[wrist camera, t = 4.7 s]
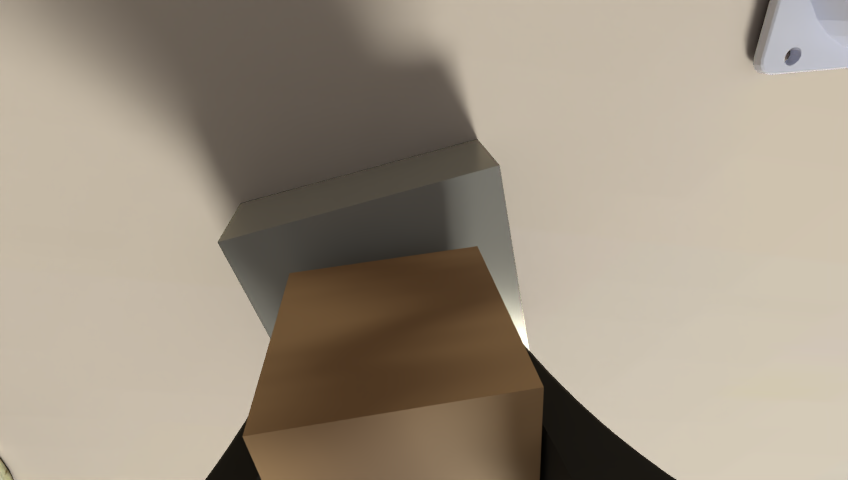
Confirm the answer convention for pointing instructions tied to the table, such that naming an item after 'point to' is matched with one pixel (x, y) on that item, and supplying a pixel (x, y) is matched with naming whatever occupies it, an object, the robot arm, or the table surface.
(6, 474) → the coffee can
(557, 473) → the robot arm
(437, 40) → the table surface
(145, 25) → the table surface
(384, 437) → the walnut cube
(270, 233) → the slate slab
